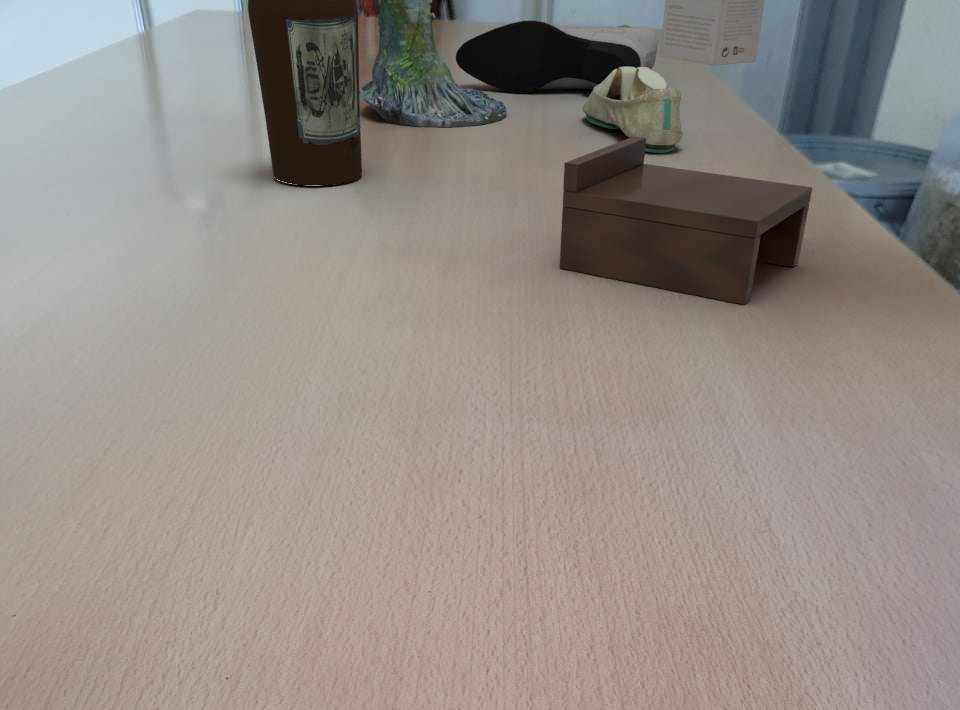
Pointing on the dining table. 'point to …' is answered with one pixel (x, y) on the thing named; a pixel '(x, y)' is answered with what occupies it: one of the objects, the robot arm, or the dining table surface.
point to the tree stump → (420, 74)
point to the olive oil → (309, 87)
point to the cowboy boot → (554, 55)
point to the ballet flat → (637, 107)
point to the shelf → (676, 223)
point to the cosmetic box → (712, 30)
